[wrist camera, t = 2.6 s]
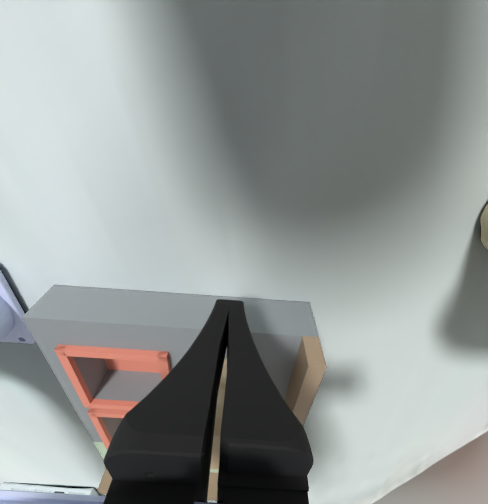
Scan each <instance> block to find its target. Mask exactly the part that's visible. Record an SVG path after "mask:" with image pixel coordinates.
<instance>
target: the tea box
mask: <svg viewBox="0 0 488 504" xmlns="http://www.w3.org/2000/svg"><path fill="white" fill-rule="evenodd" d="M0 490H14V491H30V492H46V493H63V494H79V495H95V496H100V495H99V494H98V493H97V491H96V490H95V489H94V488H63V487H51V486H40V485H29V484H18V483H10V482H4V483H2V484H1V485H0Z"/></svg>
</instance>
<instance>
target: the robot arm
mask: <svg viewBox="0 0 488 504" xmlns="http://www.w3.org/2000/svg"><path fill="white" fill-rule="evenodd" d="M24 314H25V313H24V311H23V310H22V308H21V306H20V304H19V302H18V301H17V299H16V297H15V295H14V293H13V292H12V290H11V288H10V286H9V284H8V283H7V281H6V279H5V277H4V275H3V274H2V272H1V270H0V342H11V343H27V344H33V343H35V342H36V341H35V339H34V338H33V336H32V334H31V332H30V331H29V329H28V327H27V325H26V324H25V322H24V320H23V318H22V316H23V315H24ZM226 349H227V377H226V386H225V396H224V405H223V415H222V424H221V433H220V459H219V471H218V483H217V486H218V490H217V503H208V502H207V497H208V487H209V476H210V466H211V456H212V446H213V436H214V426H215V417H216V407H217V398H218V391H219V385H220V380H221V375H222V370H223V364H224V359H225V354H226ZM104 464H105V467H106V468H107V470H108V472H109V474H110V475H111V477H112V481H111V484H110V486H109V489H108V492H107V495H106V496H95V495H79V494H63V493H46V492H30V491H14V490H0V504H309V501H308V493H307V492H308V491H309V486H308V479H307V475H308V473H309V471H310V469H311V467H312V465H313V456H312V452H311V448H310V444H309V441H308V438H307V436H306V433H305V430H304V428H303V425H302V424H301V423H300V421H299V420H298V419H297V417H296V416H295V415H294V413H293V412H292V410H291V409H290V408H289V406H288V405H287V403H286V402H285V400H284V399H283V397H282V396H281V394H280V392H279V391H278V389H277V387H276V386H275V384H274V382H273V381H272V379H271V377H270V375H269V374H268V372H267V370H266V368H265V366H264V364H263V362H262V360H261V358H260V355H259V353H258V351H257V348H256V346H255V344H254V341H253V338H252V335H251V332H250V329H249V326H248V323H247V319H246V315H245V310H244V302H243V301H240V300H225V299H218V300H216V302H215V305H214V308H213V310H212V312H211V314H210V316H209V318H208V320H207V321H206V323H205V325H204V327H203V328H202V330H201V332H200V333H199V335H198V336H197V338H196V339H195V341H194V342H193V344H192V345H191V347H190V348H189V349H188V351H187V352H186V353H185V355H184V356H183V357H182V358H181V360H180V361H179V362H178V363H177V364H176V365H175V367H174V368H173V369H172V370H171V371H170V372H169V373H168V375H167V376H166V377H165V378H164V379H163V380H162V381H161V382H160V383H159V384H158V385H157V386H156V387H155V388H154V389H153V390H152V391H151V392H150V393H149V394H148V395H147V396H146V397H145V398H143V399H142V400H141V401H140V402H139V403H138V404H137V405H135V406H134V407H133V408H132V409H131V410H130V411H129V412H128V413H126V415H125V416H124V418H123V419H122V421H121V423H120V424H119V426H118V428H117V430H116V432H115V434H114V436H113V438H112V440H111V442H110V445H109V447H108V450H107V452H106V455H105V458H104Z"/></svg>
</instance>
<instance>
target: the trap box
mask: <svg viewBox="0 0 488 504" xmlns="http://www.w3.org/2000/svg"><path fill="white" fill-rule="evenodd" d="M218 299H225V300H240V301H243V302H244V310H245V315H246V319H247V323H248V326H249V329H250V332H251V335H252V338H253V341H254V344H255V346H256V348H257V351H258V353H259V355H260V358H261V360H262V362H263V364H264V366H265V368H266V370H267V372H268V374H269V375H270V377H271V379H272V381H273V382H274V384H275V386H276V387H277V389H278V391H279V392H280V394H281V396H282V397H283V399H284V400H285V402H286V403H287V405H288V406H289V408H290V409H291V410H292V412H293V413H294V415H295V416H296V417H297V419H298V420H299V421H300V423H301V424H302V425H304V423H305V420H306V418H307V415H308V413H309V410H310V408H311V405H312V403H313V400H314V398H315V395H316V393H317V390H318V388H319V385H320V383H321V380H322V378H323V375H324V373H325V370H326V368H327V366H326V362H325V359H324V355H323V351H322V347H321V344H320V340H319V336H318V332H317V329H316V325H315V321H314V317H313V314H312V310H311V306H310V302H296V301H281V300H266V299H252V298H237V297H223V296H208V295H194V294H179V293H164V292H150V291H135V290H121V289H106V288H91V287H77V286H62V285H54V286H53V287H52V288H51V289H50V290H49V291H48V292H47V293H46V294H45V295H44V296H43V297H42V298H41V299H40V300H39V301H38V302H37V303H36V304H35V305H33V306H32V307H31V308H30V309H29V310H28V311H27V312H26V313H25V314H24V315H23V316H22V318H23V320H24V322H25V324H26V325H27V327H28V329H29V331H30V332H31V334H32V336H33V338H34V339H35V341H36V343H37V345H38V346H39V348H40V350H41V352H42V353H43V355H44V357H45V359H46V360H47V362H48V364H49V366H50V367H51V369H52V371H53V373H54V374H55V376H56V378H57V380H58V381H59V383H60V385H61V387H62V388H63V390H64V392H65V394H66V395H67V397H68V399H69V401H70V402H71V404H72V406H73V408H74V409H75V411H76V413H77V415H78V416H79V418H80V420H81V422H82V423H83V425H84V427H85V429H86V430H87V432H88V434H89V436H90V437H91V439H92V441H93V443H94V444H95V446H96V448H97V450H98V451H99V453H100V455H101V457H102V458H103V460H104V458H105V455H106V452H107V450H108V447H109V445H110V442H111V440H112V438H113V436H114V434H115V432H116V430H117V428H118V426H119V424H120V423H121V421H122V419H123V418H124V416H125V415H126V413H128V412H129V411H130V410H131V409H132V408H133V407H134V406H135V405H137V404H138V403H139V402H140V401H141V400H142V399H143V398H145V397H146V396H147V395H148V394H149V393H150V392H151V391H152V390H153V389H154V388H155V387H156V386H157V385H158V384H159V383H160V382H161V381H162V380H163V379H164V378H165V377H166V376H167V375H168V373H169V372H170V371H171V370H172V369H173V368H174V367H175V365H176V364H177V363H178V362H179V361H180V360H181V358H182V357H183V356H184V355H185V353H186V352H187V351H188V349H189V348H190V347H191V345H192V344H193V342H194V341H195V339H196V338H197V336H198V335H199V333H200V332H201V330H202V328H203V327H204V325H205V323H206V321H207V320H208V318H209V316H210V314H211V312H212V310H213V308H214V305H215V302H216V300H218ZM225 359H227V349H226V354H225ZM218 471H219V469H210V476H209V487H208V497H207V500H215V501H217V490H218V486H217V483H218ZM111 481H112V477H111V475H110V474H109V472H108V470H107V468H106V470H105V472H104V475H103V477H102V480H101V483H100V485H99V488H98V492H99V493H100V494H107V492H108V489H109V486H110V484H111Z"/></svg>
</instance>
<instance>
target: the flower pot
mask: <svg viewBox="0 0 488 504" xmlns="http://www.w3.org/2000/svg"><path fill="white" fill-rule="evenodd" d="M480 223H481V242H482V244H483V245H484V247H485V248H486V249H487V250H488V204H487V205H486V207H485V209H484V211H483V213H482V215H481V218H480Z"/></svg>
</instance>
